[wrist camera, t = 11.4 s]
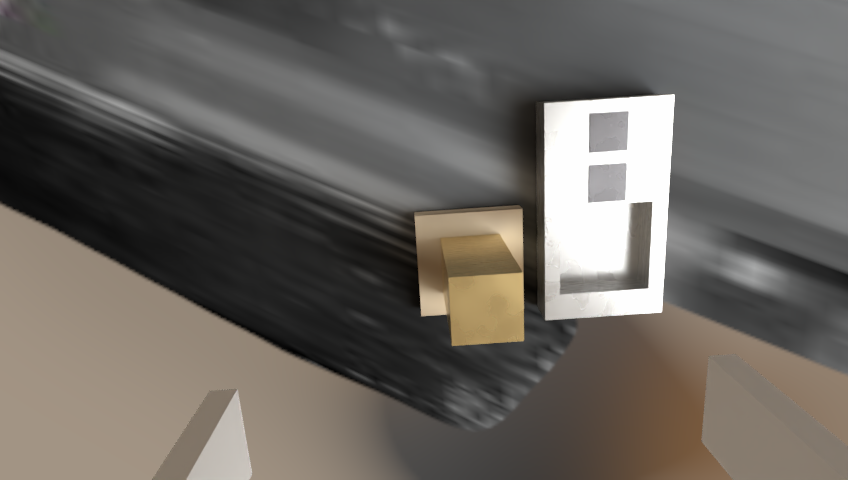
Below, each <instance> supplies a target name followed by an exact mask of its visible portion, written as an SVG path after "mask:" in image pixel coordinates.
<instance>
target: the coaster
mask: <svg viewBox="0 0 848 480" xmlns="http://www.w3.org/2000/svg"><path fill="white" fill-rule="evenodd" d="M414 216H415V231H416V245H417V259H418V274H419V288H420V303H421V316H432V315H446V314H447V313H446V307H445V301H444V295H443V279H442V261H441V244H440V238H444V237H459V236H474V235H489V234H500V235H501V237H502V239H503V240H504V242H505V244H506V245H507V247H508V249H509V250H510V252H511V254H512V255H513V257H514V258H515V260H516V262H517V263H518V265H519V267H520V268H521V270H522V272H523V209H522V208H521V207H520V206H519V205H513V206H498V207H483V208H468V209H453V210H438V211H423V212H414ZM523 298H524V276H523Z"/></svg>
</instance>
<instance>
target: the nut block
mask: <svg viewBox="0 0 848 480" xmlns="http://www.w3.org/2000/svg"><path fill="white" fill-rule="evenodd" d="M440 244H441V261H442V279H443V295H444V301H445V307H446V313H447V319H448V325H449V331H450V337H451V343H452V346H457V345H472V344H487V343H501V342H516V341H524V298H523V272H522V270H521V268H520V267H519V265H518V263H517V262H516V260H515V258H514V257H513V255H512V254H511V252H510V250H509V249H508V247H507V245H506V244H505V242H504V240H503V239H502V237H501V235H500V234H489V235H474V236H459V237H444V238H440Z"/></svg>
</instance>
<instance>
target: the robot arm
mask: <svg viewBox="0 0 848 480" xmlns="http://www.w3.org/2000/svg"><path fill="white" fill-rule="evenodd" d="M702 442H703V444H704V445H705V446H706V447H707V449H708V450H709V451H710V452H711V454H712V455H713V456H714V457H715V458H716V459H717V461H718V462H719V463H720V464H721V466H722V467H723V468H724V469H725V470H726V471H727V473H728V474H729V475H730V476H731V478H732V479H733V480H848V446H847V445H846V444H845V443H843V442H842V441H841V440H840V439H839V438H837V437H836V436H835V435H834V434H833V433H831V432H830V431H829V430H828V429H826V428H825V427H824V426H823V425H821V424H820V423H819V422H818V421H817V420H815V419H814V418H813V417H812V416H811V415H809V414H808V413H807V412H806V411H805V410H803V409H802V408H801V407H800V406H798V405H797V404H796V403H795V402H794V401H792V400H791V399H790V398H789V397H788V396H786V395H785V394H784V393H783V392H781V391H780V390H779V389H778V388H777V387H775V386H774V385H773V384H772V383H770V382H769V381H768V380H767V379H766V378H764V377H763V376H762V375H761V374H760V373H758V372H757V371H756V370H755V369H753V368H752V367H751V366H750V365H749V364H747V363H746V362H745V361H744V360H743V359H741V358H740V357H739V356H738V355H736V354H732V355H717V356H709V360H708V371H707V383H706V395H705V406H704V419H703V430H702ZM251 475H252V470H251V465H250V458H249V452H248V447H247V442H246V435H245V429H244V424H243V418H242V412H241V407H240V401H239V395H238V389H229V390H215V391H209V393H208V394H207V396H206V397H205V399H204V400H203V402H202V404H201V405H200V407H199V408H198V410H197V411H196V413H195V414H194V416H193V417H192V419H191V421H190V422H189V424H188V425H187V427H186V428H185V430H184V431H183V433H182V434H181V436H180V437H179V439H178V440H177V442H176V443H175V445H174V447H173V448H172V450H171V451H170V453H169V454H168V456H167V457H166V459H165V460H164V462H163V464H162V465H161V466H160V468H159V470H158V471H157V473H156V474H155V476H154V477H153V479H152V480H250V477H251Z"/></svg>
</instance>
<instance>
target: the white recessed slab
mask: <svg viewBox="0 0 848 480" xmlns="http://www.w3.org/2000/svg"><path fill="white" fill-rule="evenodd" d="M673 112H674V95H670V94H651V95H635V96H620V97H605V98H590V99H574V100H559V101H544V102H536V207H537V307H538V309H539V311H540V312H541V314H542V316H543V317H544V319H545V320H556V319H571V318H585V317H600V316H614V315H628V314H643V313H658V312H662V300H663V283H664V266H665V249H666V232H667V214H668V197H669V180H670V163H671V146H672V129H673Z"/></svg>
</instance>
